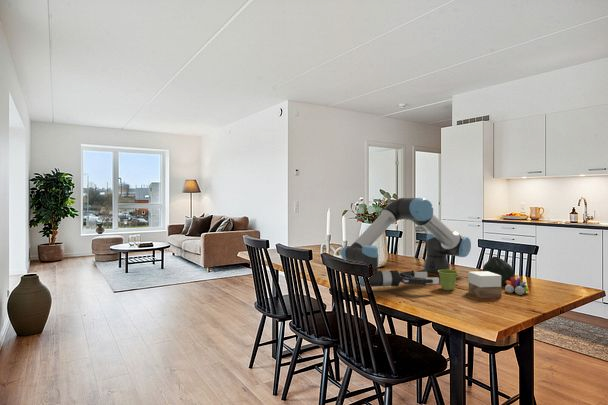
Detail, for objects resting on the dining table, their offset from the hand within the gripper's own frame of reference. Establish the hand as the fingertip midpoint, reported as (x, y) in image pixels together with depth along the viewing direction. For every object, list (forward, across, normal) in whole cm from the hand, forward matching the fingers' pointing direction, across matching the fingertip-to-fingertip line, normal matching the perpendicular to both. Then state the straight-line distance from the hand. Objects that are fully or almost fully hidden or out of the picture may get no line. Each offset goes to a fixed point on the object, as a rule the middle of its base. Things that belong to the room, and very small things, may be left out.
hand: (432, 277), depth 185 cm
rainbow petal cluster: (+37, +9, -6) cm, 38 cm away
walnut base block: (+20, +11, -6) cm, 24 cm away
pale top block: (+20, +11, -1) cm, 23 cm away
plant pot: (+8, 0, -6) cm, 10 cm away
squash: (+39, -9, -6) cm, 40 cm away
